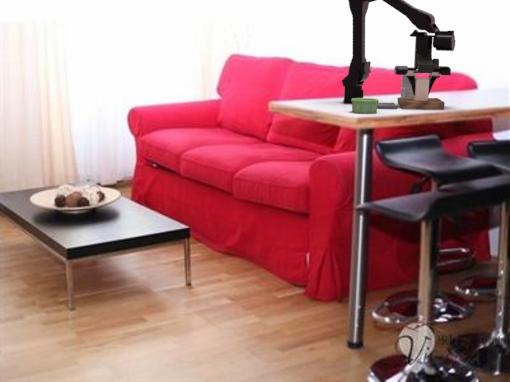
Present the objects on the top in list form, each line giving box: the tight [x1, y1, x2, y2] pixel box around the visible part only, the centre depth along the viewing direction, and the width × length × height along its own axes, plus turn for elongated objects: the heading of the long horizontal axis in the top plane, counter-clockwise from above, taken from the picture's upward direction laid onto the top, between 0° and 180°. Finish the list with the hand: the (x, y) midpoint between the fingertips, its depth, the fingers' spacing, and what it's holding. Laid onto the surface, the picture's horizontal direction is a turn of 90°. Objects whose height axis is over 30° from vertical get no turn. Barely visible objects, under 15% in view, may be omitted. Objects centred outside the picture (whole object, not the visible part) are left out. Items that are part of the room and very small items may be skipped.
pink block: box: [413, 77, 430, 101], centre depth 268 cm, size 4×4×10 cm
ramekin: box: [351, 97, 380, 115], centre depth 253 cm, size 9×9×4 cm
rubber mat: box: [377, 102, 398, 110], centre depth 267 cm, size 10×10×1 cm
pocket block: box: [397, 96, 446, 111], centre depth 268 cm, size 14×14×2 cm
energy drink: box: [400, 66, 417, 98], centre depth 291 cm, size 5×5×12 cm
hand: (420, 95), depth 268 cm, fingers closed on pink block, 4 cm apart
